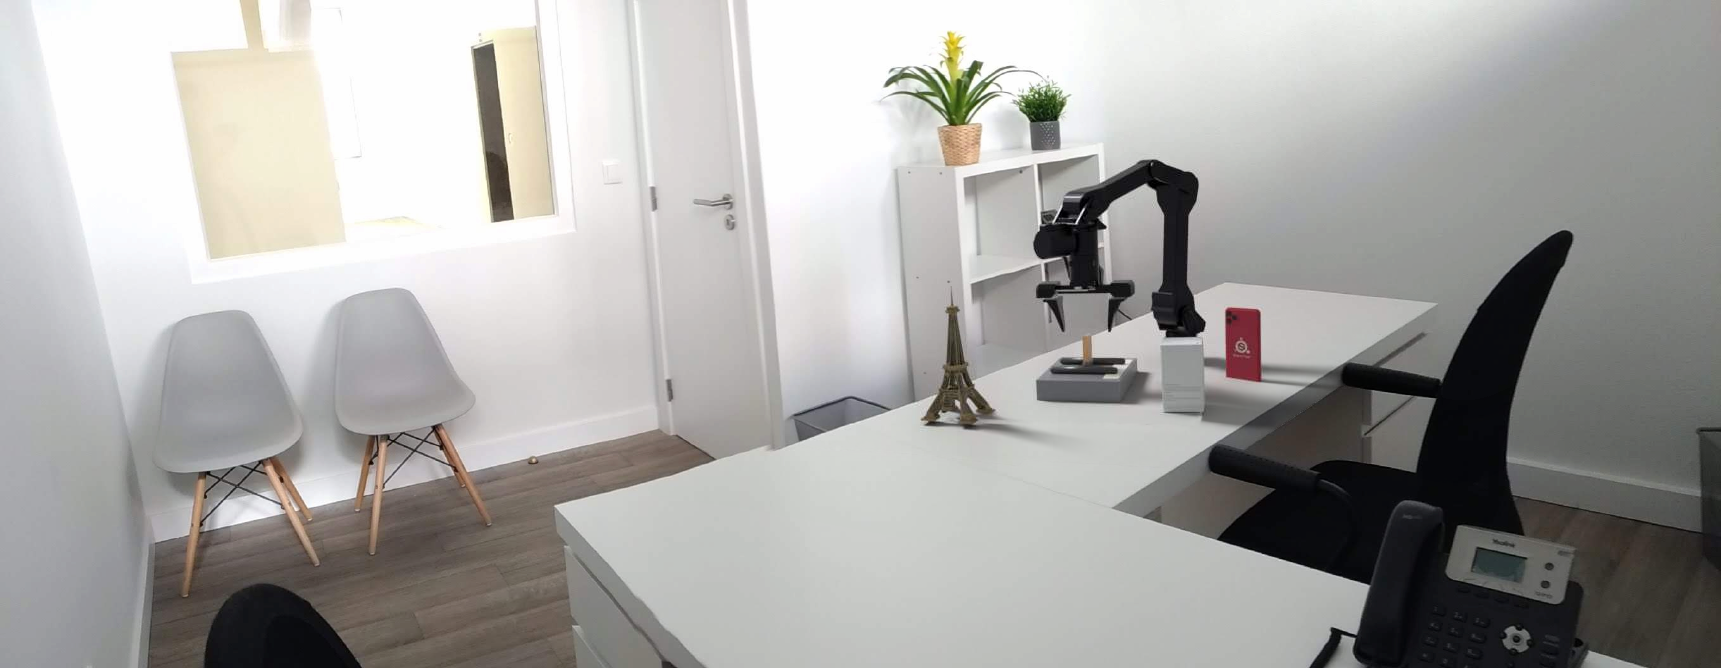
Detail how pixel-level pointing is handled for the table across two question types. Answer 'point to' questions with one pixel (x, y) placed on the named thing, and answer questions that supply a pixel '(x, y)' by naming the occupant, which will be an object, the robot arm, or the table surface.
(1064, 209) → the robot arm
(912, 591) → the table surface
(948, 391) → the eiffel tower
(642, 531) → the table surface
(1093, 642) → the table surface
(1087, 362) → the breaker lever
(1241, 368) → the smartphone
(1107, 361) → the breaker panel
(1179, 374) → the supplement box
